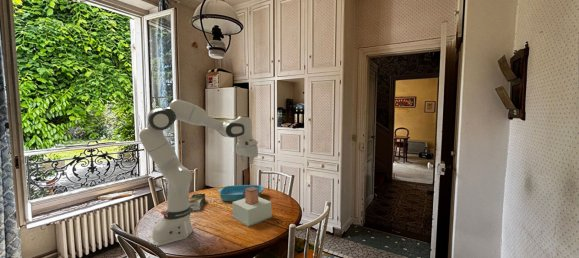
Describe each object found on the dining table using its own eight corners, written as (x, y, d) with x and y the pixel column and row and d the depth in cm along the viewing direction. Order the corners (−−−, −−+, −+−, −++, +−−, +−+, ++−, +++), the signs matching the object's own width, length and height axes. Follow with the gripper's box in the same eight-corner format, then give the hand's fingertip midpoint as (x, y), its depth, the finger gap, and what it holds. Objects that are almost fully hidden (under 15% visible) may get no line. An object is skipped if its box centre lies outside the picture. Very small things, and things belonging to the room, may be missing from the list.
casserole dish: (214, 203, 177) (214, 194, 176) (221, 193, 199) (221, 185, 199) (263, 202, 179) (263, 193, 178) (265, 192, 201) (265, 184, 200)
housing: (248, 226, 139) (247, 210, 139) (231, 217, 153) (231, 202, 152) (272, 216, 152) (272, 202, 152) (255, 208, 166) (255, 194, 165)
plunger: (250, 209, 148) (250, 191, 147) (245, 206, 152) (244, 188, 151) (258, 206, 152) (258, 188, 151) (253, 203, 156) (252, 186, 156)
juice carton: (200, 211, 163) (200, 202, 163) (185, 212, 162) (185, 203, 161) (205, 200, 183) (205, 193, 183) (192, 201, 181) (192, 194, 181)
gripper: (232, 140, 155) (233, 161, 156) (250, 143, 140) (251, 165, 141) (241, 139, 159) (241, 159, 160) (259, 142, 145) (260, 163, 146)
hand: (246, 162), depth 151 cm, fingers open, 8 cm apart
